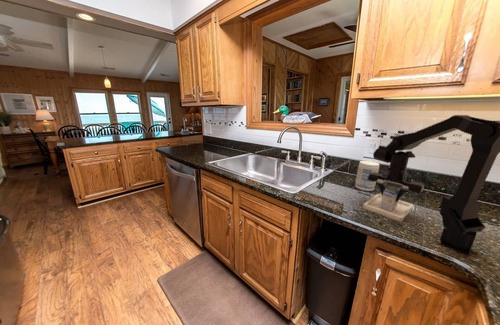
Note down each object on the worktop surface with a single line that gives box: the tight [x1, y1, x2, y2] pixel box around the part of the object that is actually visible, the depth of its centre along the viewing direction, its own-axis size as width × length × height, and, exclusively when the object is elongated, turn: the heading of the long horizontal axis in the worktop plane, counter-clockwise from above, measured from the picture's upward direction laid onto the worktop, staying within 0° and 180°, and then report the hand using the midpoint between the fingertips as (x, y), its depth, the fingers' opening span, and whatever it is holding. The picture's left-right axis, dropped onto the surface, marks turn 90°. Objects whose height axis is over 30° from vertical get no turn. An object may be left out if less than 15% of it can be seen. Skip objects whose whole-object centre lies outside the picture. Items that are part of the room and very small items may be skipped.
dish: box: [362, 193, 414, 223], centre depth 85 cm, size 14×18×2 cm
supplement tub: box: [354, 160, 380, 192], centre depth 106 cm, size 10×10×15 cm
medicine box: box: [380, 185, 401, 212], centre depth 84 cm, size 8×4×9 cm, turn 130°
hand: (390, 200), depth 84 cm, fingers open, 5 cm apart
